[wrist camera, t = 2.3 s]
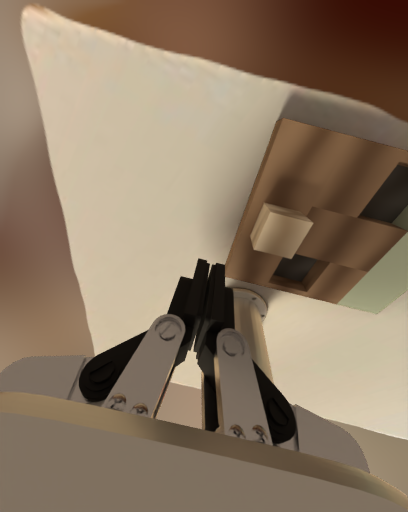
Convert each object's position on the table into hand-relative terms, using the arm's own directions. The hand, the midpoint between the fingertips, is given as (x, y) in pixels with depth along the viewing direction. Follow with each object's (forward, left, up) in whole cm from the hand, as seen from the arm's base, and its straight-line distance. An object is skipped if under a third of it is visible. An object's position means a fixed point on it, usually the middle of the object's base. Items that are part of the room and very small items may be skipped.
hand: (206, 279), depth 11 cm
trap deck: (-9, -11, -18) cm, 23 cm away
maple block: (-5, -6, -15) cm, 17 cm away
